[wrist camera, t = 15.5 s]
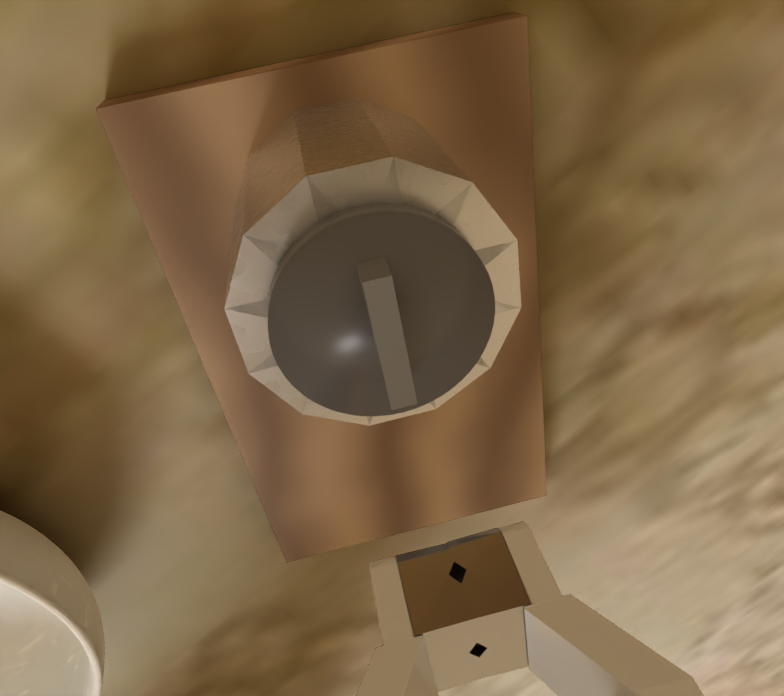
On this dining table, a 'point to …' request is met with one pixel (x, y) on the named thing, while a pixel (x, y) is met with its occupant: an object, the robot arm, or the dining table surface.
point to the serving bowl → (45, 619)
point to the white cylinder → (342, 192)
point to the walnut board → (211, 262)
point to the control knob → (379, 310)
